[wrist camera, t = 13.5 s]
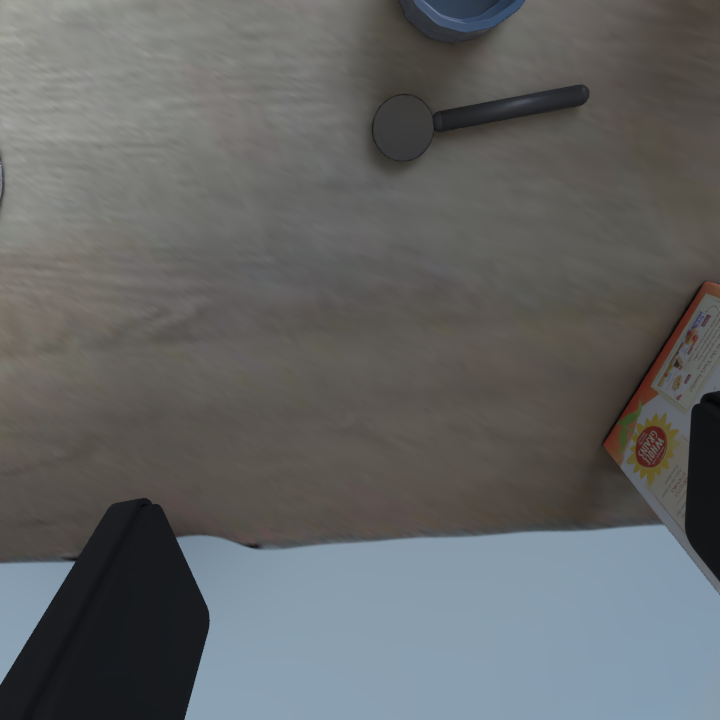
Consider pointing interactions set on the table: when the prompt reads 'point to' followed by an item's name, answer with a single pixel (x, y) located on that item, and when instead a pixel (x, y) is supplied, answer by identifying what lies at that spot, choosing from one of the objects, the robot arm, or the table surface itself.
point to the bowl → (457, 17)
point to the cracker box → (671, 416)
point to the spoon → (456, 118)
